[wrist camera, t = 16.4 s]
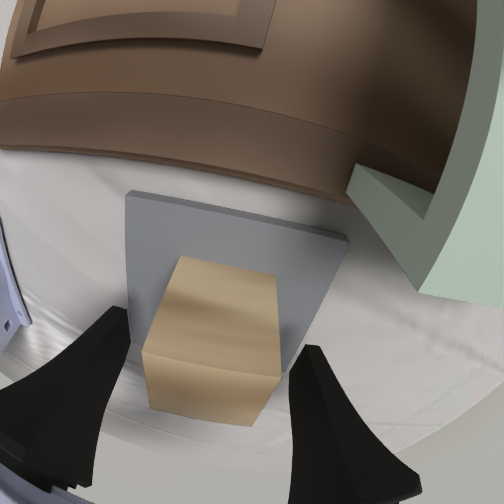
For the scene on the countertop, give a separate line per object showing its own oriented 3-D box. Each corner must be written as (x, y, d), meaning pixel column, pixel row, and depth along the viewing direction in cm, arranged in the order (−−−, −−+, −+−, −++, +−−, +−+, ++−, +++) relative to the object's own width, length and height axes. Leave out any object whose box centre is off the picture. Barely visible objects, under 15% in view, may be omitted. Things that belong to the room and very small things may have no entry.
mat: (283, 364, 16) (284, 372, 15) (136, 335, 15) (133, 342, 14) (345, 235, 11) (349, 242, 11) (131, 190, 10) (125, 195, 10)
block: (254, 336, 14) (251, 426, 9) (175, 321, 13) (150, 408, 9) (275, 274, 12) (281, 377, 7) (180, 255, 11) (141, 351, 7)
